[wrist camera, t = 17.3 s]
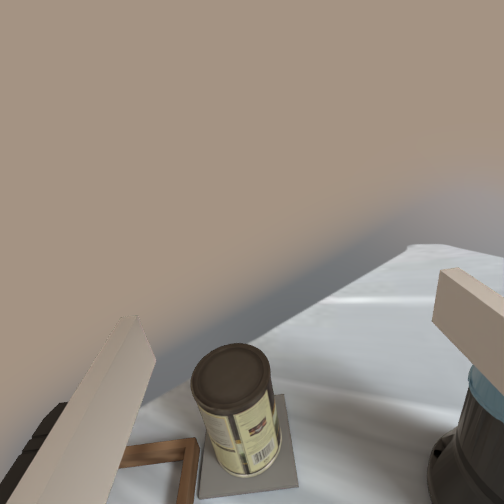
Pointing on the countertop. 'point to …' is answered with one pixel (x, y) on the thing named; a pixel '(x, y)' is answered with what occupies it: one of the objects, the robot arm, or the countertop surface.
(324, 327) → the countertop surface
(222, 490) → the mat
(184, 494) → the brown wooden square frame
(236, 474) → the coffee can
